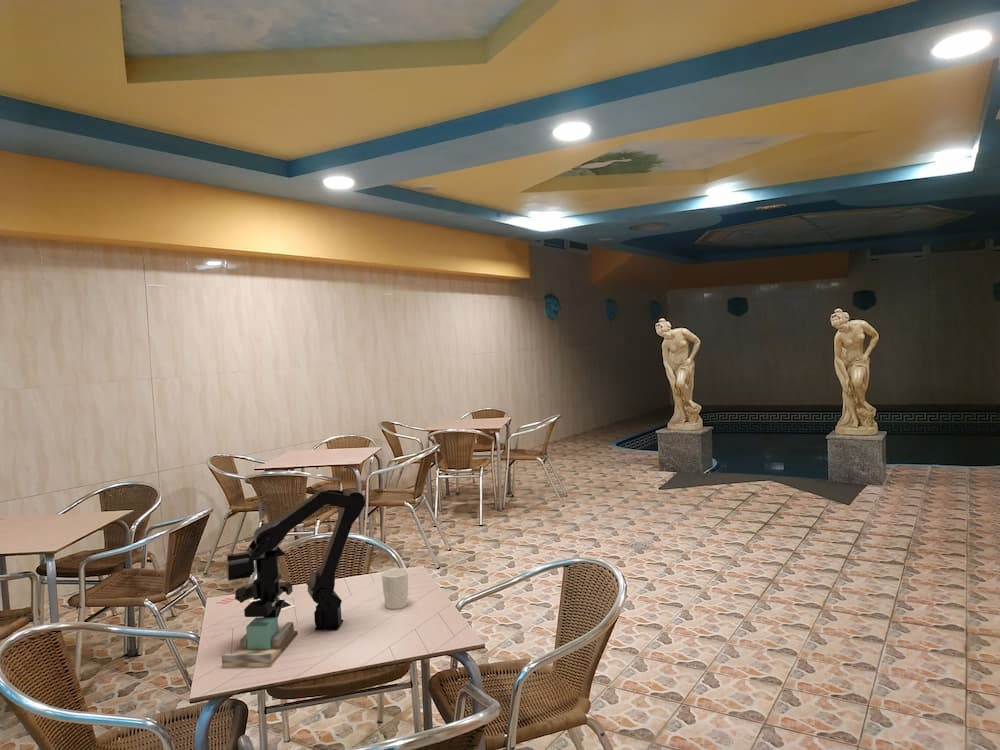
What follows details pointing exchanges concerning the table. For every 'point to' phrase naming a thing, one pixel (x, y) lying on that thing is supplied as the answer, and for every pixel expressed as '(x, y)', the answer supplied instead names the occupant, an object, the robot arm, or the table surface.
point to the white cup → (395, 588)
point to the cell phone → (284, 607)
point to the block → (261, 632)
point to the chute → (260, 650)
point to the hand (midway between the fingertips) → (271, 629)
